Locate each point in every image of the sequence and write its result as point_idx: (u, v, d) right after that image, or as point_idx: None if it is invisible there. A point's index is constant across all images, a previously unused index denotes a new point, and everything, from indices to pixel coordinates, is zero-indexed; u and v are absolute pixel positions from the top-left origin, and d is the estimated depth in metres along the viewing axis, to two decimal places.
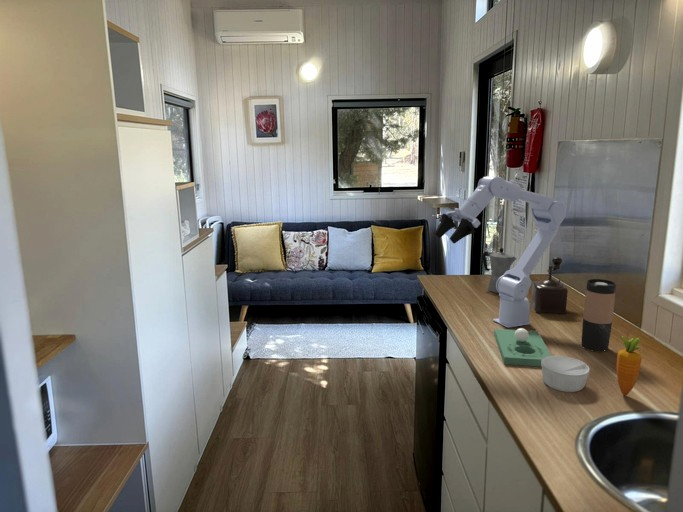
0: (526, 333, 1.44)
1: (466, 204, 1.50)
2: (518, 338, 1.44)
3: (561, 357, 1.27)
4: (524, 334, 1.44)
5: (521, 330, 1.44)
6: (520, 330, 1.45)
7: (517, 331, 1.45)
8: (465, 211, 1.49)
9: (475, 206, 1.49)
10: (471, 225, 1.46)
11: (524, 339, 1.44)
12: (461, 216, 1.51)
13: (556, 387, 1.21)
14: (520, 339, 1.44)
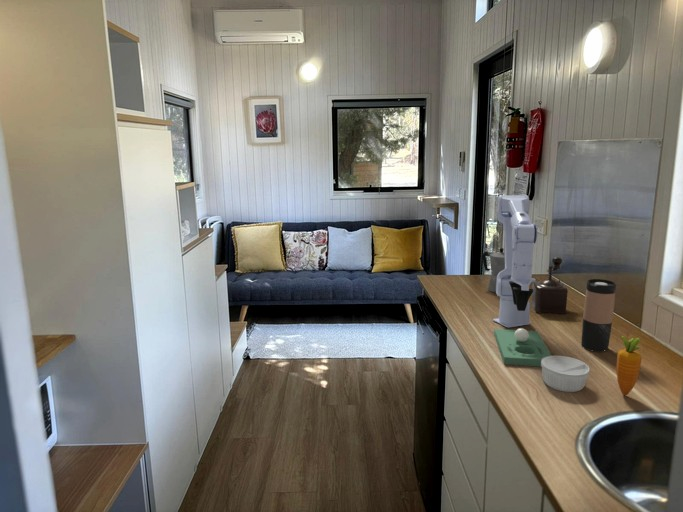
0: (526, 333, 1.44)
1: None
2: (518, 338, 1.44)
3: (561, 357, 1.27)
4: (524, 334, 1.44)
5: (521, 330, 1.44)
6: (520, 330, 1.45)
7: (517, 331, 1.45)
8: None
9: None
10: None
11: (524, 339, 1.44)
12: None
13: (556, 387, 1.21)
14: (520, 339, 1.44)
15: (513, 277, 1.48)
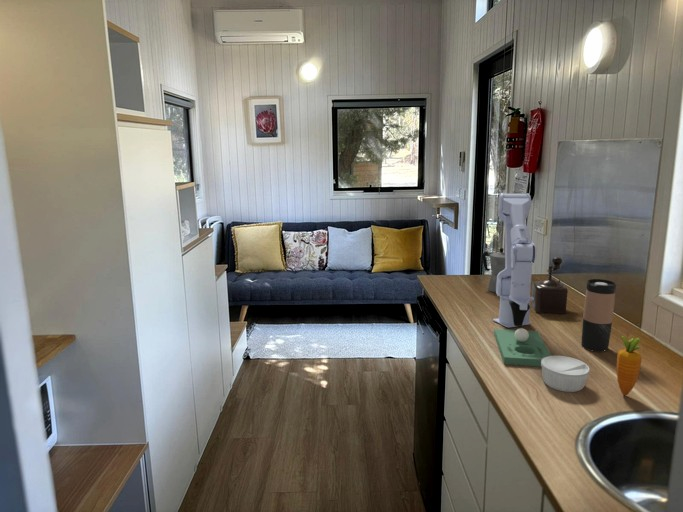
0: (526, 333, 1.44)
1: None
2: (518, 338, 1.44)
3: (561, 357, 1.27)
4: (524, 334, 1.44)
5: (521, 330, 1.44)
6: (520, 330, 1.45)
7: (517, 331, 1.45)
8: None
9: None
10: None
11: (524, 339, 1.44)
12: None
13: (556, 387, 1.21)
14: (520, 339, 1.44)
15: (512, 296, 1.49)
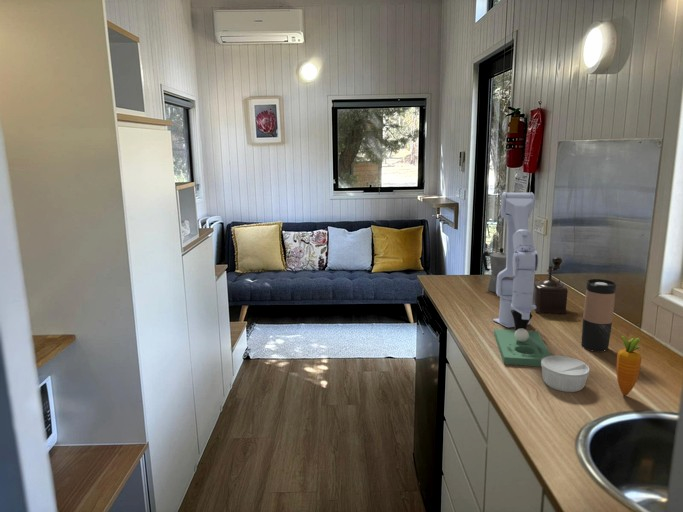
0: (526, 333, 1.44)
1: None
2: (518, 338, 1.44)
3: (561, 357, 1.27)
4: (524, 334, 1.44)
5: (521, 330, 1.44)
6: (520, 330, 1.44)
7: (517, 331, 1.45)
8: None
9: None
10: None
11: (524, 339, 1.44)
12: None
13: (556, 387, 1.21)
14: (520, 339, 1.44)
15: (513, 304, 1.46)
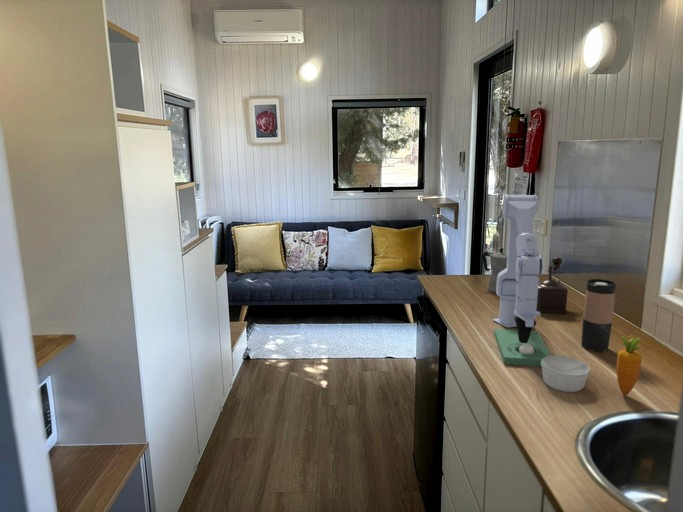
0: None
1: None
2: (523, 345, 1.39)
3: (561, 357, 1.27)
4: None
5: None
6: None
7: None
8: None
9: None
10: None
11: (530, 345, 1.38)
12: None
13: (556, 387, 1.21)
14: (526, 345, 1.38)
15: (517, 311, 1.40)
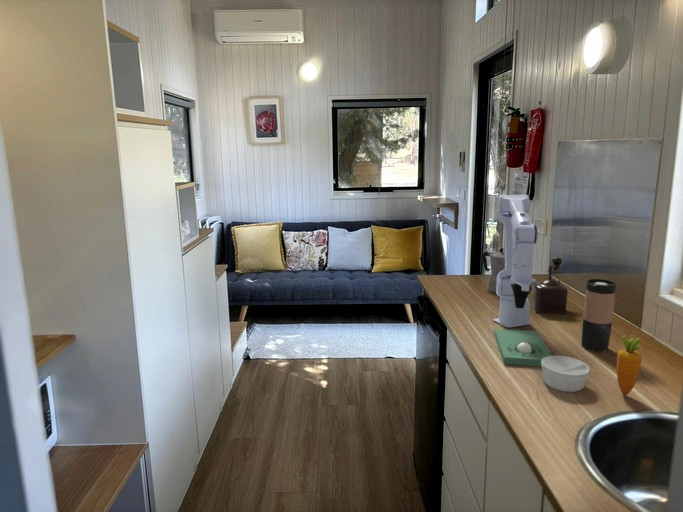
0: None
1: None
2: None
3: (561, 357, 1.27)
4: None
5: None
6: None
7: None
8: None
9: None
10: None
11: (525, 343, 1.40)
12: None
13: (556, 387, 1.21)
14: (521, 343, 1.40)
15: (513, 277, 1.47)
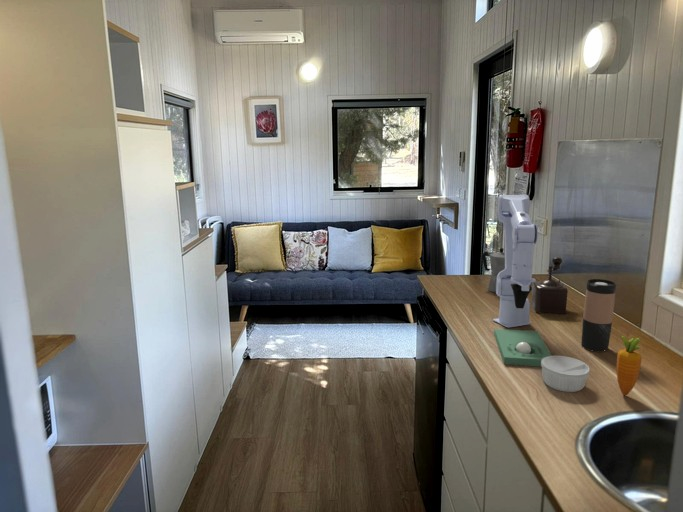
0: None
1: None
2: (518, 343, 1.41)
3: (561, 357, 1.27)
4: None
5: None
6: None
7: None
8: None
9: None
10: None
11: (524, 342, 1.41)
12: None
13: (556, 387, 1.21)
14: (520, 342, 1.41)
15: (513, 277, 1.47)
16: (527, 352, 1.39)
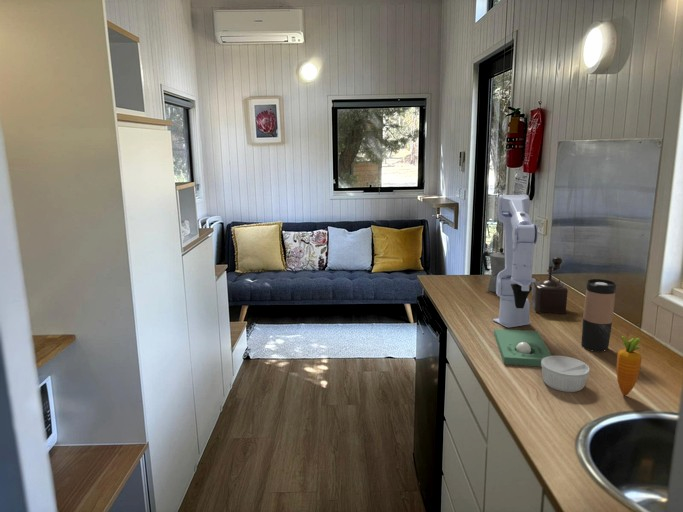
0: None
1: None
2: None
3: (561, 357, 1.27)
4: None
5: None
6: None
7: None
8: None
9: None
10: None
11: (524, 342, 1.41)
12: None
13: (556, 387, 1.21)
14: (520, 342, 1.41)
15: (513, 277, 1.47)
16: (527, 352, 1.39)
